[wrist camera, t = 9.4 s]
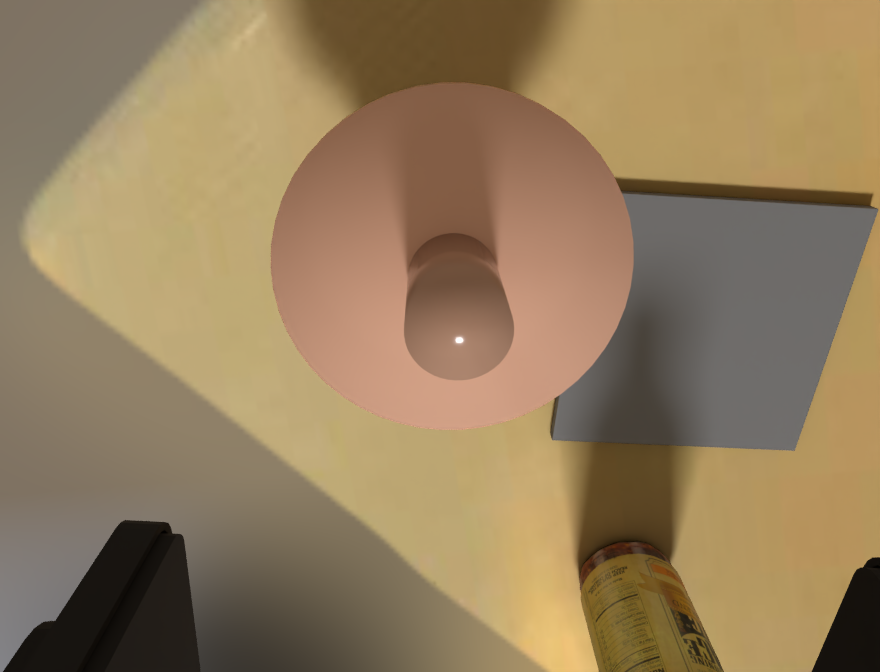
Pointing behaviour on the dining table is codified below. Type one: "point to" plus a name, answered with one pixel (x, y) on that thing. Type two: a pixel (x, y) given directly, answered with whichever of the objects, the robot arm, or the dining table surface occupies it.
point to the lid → (452, 256)
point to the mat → (720, 323)
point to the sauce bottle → (642, 613)
